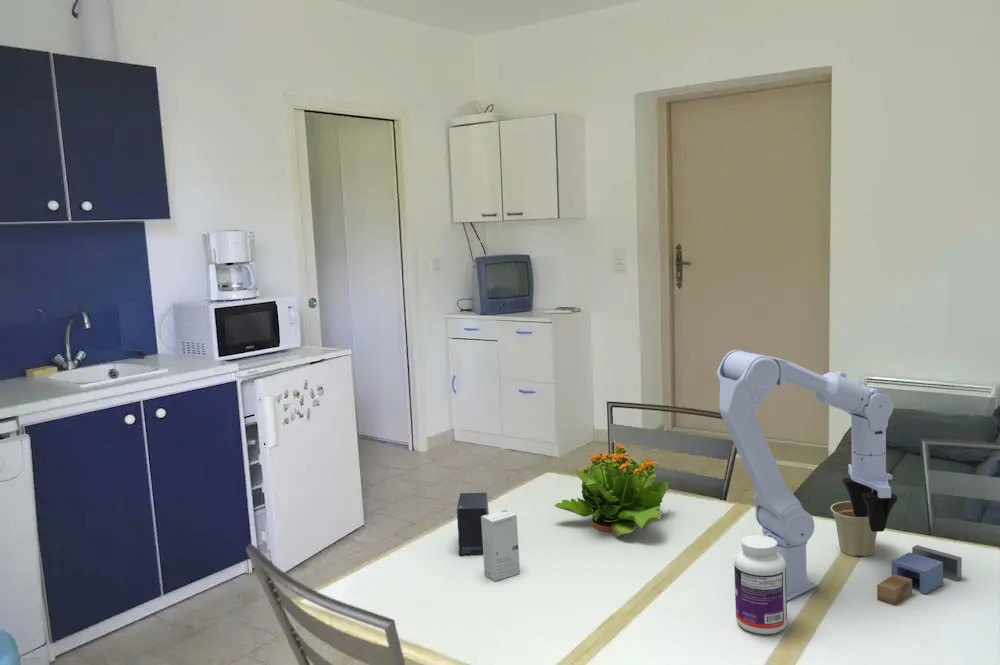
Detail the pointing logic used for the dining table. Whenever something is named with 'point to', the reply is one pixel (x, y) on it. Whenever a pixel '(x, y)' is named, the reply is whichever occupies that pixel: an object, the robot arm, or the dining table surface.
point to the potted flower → (618, 493)
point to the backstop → (950, 562)
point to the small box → (471, 522)
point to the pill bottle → (760, 586)
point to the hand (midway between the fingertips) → (868, 523)
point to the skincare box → (500, 545)
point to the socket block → (919, 570)
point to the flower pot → (853, 531)
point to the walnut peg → (894, 589)
